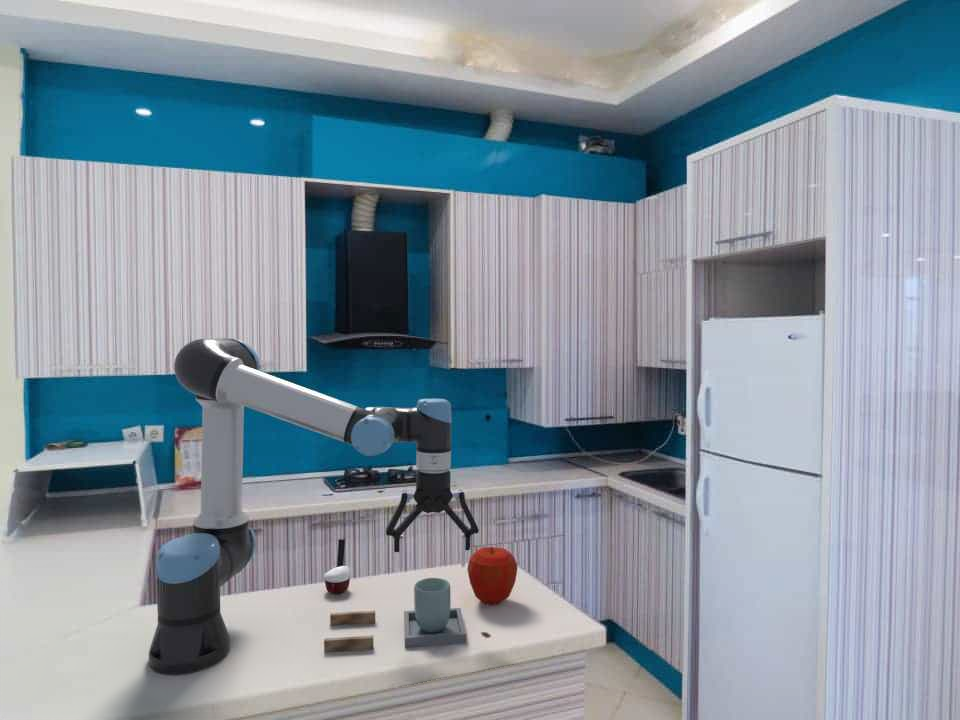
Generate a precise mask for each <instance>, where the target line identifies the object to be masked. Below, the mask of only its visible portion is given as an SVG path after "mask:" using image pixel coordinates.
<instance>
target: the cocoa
mask: <svg viewBox="0 0 960 720" xmlns="http://www.w3.org/2000/svg"><path fill="white" fill-rule="evenodd" d="M337 542H338V543H337V555H336V556H337V561H336V567H333V568H331V569H330V570H328V571H327V572H325V573H324V575H323V578H324V585H325V589H326V591H327V592H328V593H329V594H331V595H335V596H338V595H342V594H344V593H345V592H347V590H348V589H349V586H350V581H351V578H350V576H351V568H350V567H349V566H347V565H344V564H345V545H346V539H345V538H338V541H337Z"/></svg>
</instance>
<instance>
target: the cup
mask: <svg viewBox="0 0 960 720" xmlns="http://www.w3.org/2000/svg"><path fill="white" fill-rule="evenodd" d="M451 594H452V593H451V583H450V582H449V581H448V580H447V579H444V578H441V577H440V578H439V577H428V578H422V579H420V580H418V581H416V582H415V583H414V587H413V603H414V604H413V606H414V610H413V611H415V618H416V622H417V625H418V627H419V628H420V629H421V630H422V631H424V632H427V633H437V632H440V631H442V630H443V629H444V628H445V627H446V626H447V624H448V621H449V617H450V608H451V603H452V602H451V600H452V599H451Z"/></svg>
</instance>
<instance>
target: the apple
mask: <svg viewBox="0 0 960 720" xmlns="http://www.w3.org/2000/svg"><path fill="white" fill-rule="evenodd" d="M467 563H468V564H467V574H468V579H469V584H470V587H471V589H472V591H473V593H474V596H475V598H476V599H477V600H479V601H480V602H481V603H482V604H484V605H488V606H494V605H495V606H497V605H500V604H501V603H503V602H505V601H506V600H508V598H509V597H510V595H511V593H512V591H513V588H514V586H515V583H516V580H517V573H518V563H517V562H516V559H515V556H514V555H513V554H512V553H511V552H510V551H509V550H507V549H506V548H503V547H494V546H493V545H491V546H487V547H486V546H485V547H480V548H478V549H477V550H475V551H474V552H473V553H472V554H471V555H470V556H469V561H468V562H467Z"/></svg>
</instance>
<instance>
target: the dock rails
mask: <svg viewBox="0 0 960 720" xmlns="http://www.w3.org/2000/svg"><path fill="white" fill-rule="evenodd" d="M329 617H330V618H329V623H330V624H329V625H330V627H336V626H337V627H338V626H340V627H341V626H354V625H369V624H370V625H373V624H376V610H365V611H348V612H347V611H346V612H344V611H343V612H331V613H330V614H329ZM374 644H375V643H374V635H360V636H359V635H358V636H343V637H330V638H328V637H327V638H324V640H323V651H324V653H326V654H327V653H339V652H340V653H341V652H356V651H370V650H374V646H375V645H374Z"/></svg>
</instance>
